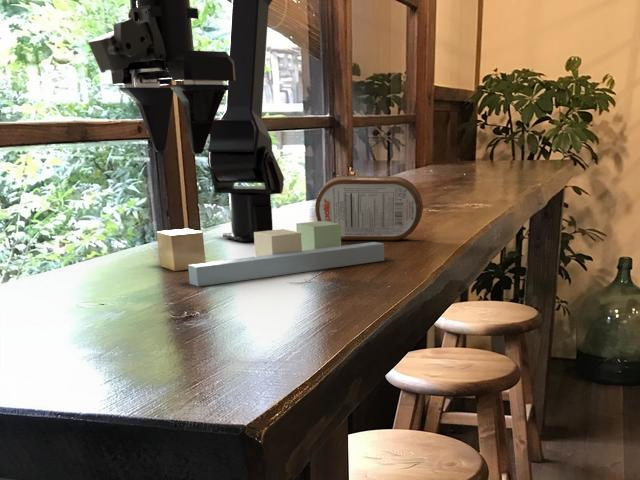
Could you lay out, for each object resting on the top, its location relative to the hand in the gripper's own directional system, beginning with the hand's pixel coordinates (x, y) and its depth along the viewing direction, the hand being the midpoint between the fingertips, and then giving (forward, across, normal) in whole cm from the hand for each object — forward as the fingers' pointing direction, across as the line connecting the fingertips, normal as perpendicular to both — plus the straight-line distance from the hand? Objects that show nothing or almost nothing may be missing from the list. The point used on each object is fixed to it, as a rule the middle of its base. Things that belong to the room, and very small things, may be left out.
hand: (178, 152), depth 95 cm
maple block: (+12, +4, -3) cm, 13 cm away
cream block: (+12, +12, +5) cm, 18 cm away
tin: (+13, +2, +27) cm, 30 cm away
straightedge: (+12, +15, +5) cm, 20 cm away
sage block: (+12, +9, +13) cm, 20 cm away
